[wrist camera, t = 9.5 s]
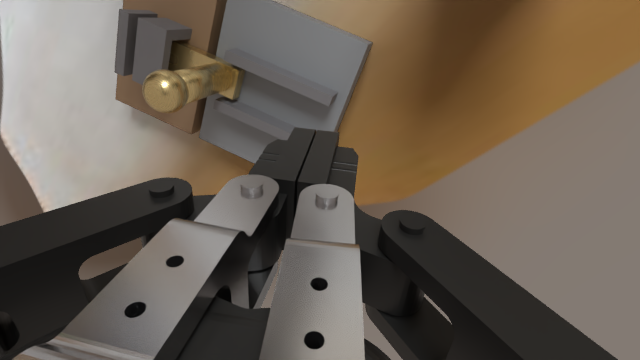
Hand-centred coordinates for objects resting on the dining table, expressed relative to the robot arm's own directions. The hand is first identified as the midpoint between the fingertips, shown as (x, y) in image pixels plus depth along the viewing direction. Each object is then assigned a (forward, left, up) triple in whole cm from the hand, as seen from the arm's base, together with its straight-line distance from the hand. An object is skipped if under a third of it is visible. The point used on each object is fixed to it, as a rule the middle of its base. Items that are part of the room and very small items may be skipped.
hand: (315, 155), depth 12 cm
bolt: (-9, -16, -23) cm, 30 cm away
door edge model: (-8, -15, -26) cm, 31 cm away
